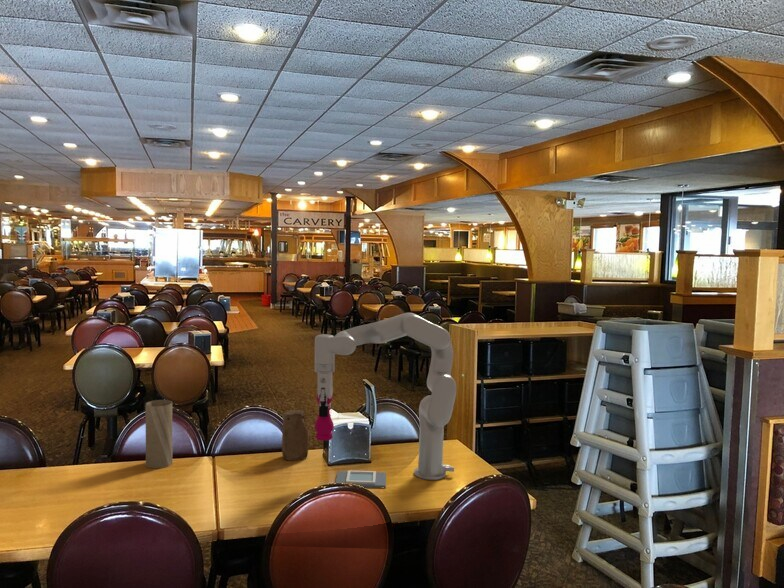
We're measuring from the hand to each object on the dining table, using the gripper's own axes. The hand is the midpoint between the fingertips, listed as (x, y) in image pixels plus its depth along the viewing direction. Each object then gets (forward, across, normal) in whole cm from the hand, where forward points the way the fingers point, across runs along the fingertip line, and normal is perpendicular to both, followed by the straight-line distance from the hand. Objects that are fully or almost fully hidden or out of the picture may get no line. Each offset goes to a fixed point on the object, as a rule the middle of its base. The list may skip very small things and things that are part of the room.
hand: (324, 413), depth 235 cm
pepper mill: (+10, 0, 0) cm, 10 cm away
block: (+26, +23, +15) cm, 38 cm away
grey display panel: (+26, 0, -14) cm, 30 cm away
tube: (+25, +11, +68) cm, 73 cm away
